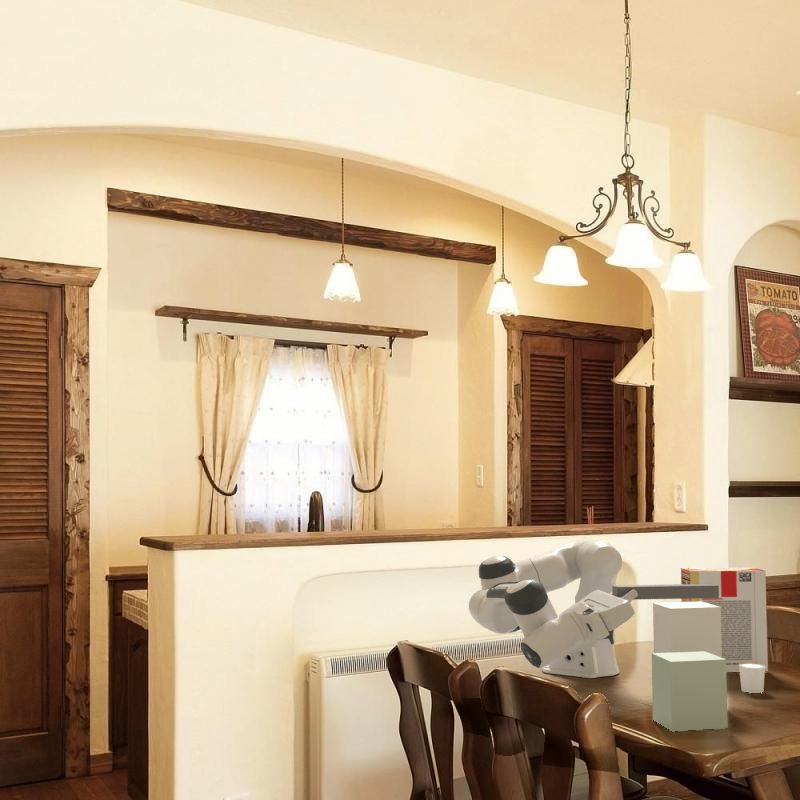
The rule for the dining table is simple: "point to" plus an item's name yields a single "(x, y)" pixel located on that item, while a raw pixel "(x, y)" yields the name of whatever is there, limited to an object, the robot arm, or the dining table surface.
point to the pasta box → (737, 611)
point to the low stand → (689, 690)
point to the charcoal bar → (669, 591)
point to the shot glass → (752, 677)
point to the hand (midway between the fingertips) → (631, 590)
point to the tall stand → (687, 627)
